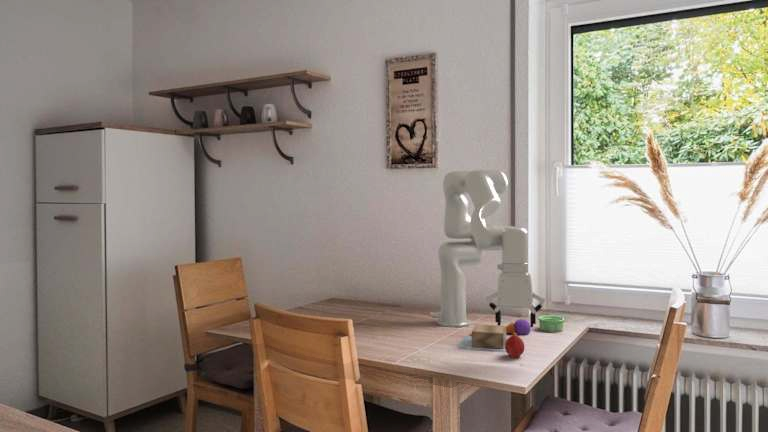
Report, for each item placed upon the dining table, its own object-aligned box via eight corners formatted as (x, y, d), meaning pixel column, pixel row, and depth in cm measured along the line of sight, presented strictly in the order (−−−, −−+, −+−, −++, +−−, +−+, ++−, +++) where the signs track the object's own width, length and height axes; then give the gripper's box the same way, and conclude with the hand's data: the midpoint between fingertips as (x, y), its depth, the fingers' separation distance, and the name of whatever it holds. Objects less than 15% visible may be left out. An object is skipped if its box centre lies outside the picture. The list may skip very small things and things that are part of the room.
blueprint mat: (457, 350, 184) (457, 348, 184) (465, 338, 199) (465, 336, 199) (515, 355, 179) (515, 352, 179) (519, 342, 194) (519, 339, 194)
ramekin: (565, 333, 206) (565, 321, 206) (539, 332, 208) (539, 320, 207) (562, 327, 215) (562, 315, 214) (537, 326, 216) (537, 315, 216)
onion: (502, 356, 178) (502, 330, 177) (520, 355, 178) (520, 330, 178) (508, 361, 172) (508, 335, 171) (527, 361, 172) (527, 334, 172)
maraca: (471, 324, 205) (526, 318, 207) (473, 341, 204) (528, 334, 206) (475, 324, 199) (531, 318, 201) (477, 342, 198) (534, 335, 200)
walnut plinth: (471, 346, 186) (471, 331, 185) (476, 339, 195) (476, 324, 195) (503, 349, 183) (503, 333, 182) (506, 341, 192) (506, 326, 192)
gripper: (484, 269, 173) (484, 326, 173) (544, 270, 167) (545, 329, 168) (487, 266, 180) (488, 321, 180) (545, 268, 175) (545, 324, 175)
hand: (515, 325), depth 174 cm, fingers open, 9 cm apart
